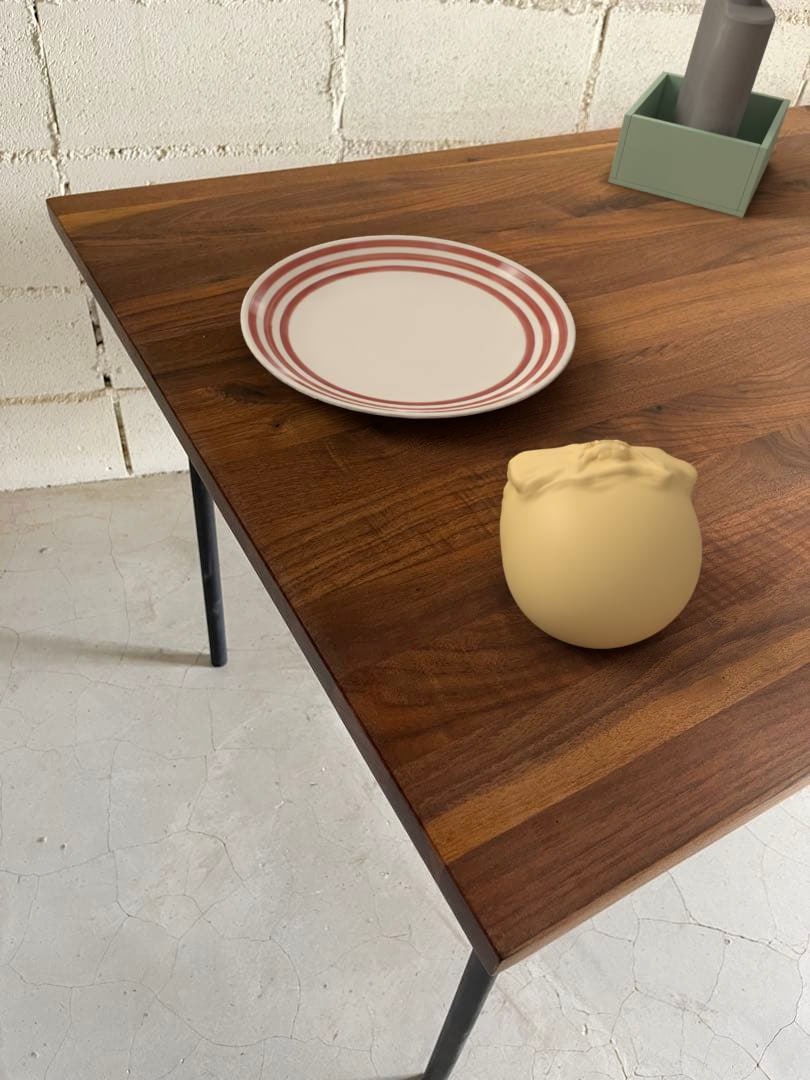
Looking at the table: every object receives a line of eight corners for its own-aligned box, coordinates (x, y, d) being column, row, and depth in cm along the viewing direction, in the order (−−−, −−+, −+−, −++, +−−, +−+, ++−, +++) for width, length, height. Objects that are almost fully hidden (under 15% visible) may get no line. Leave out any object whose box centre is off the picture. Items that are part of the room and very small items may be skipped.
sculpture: (635, 527, 61) (683, 399, 53) (700, 667, 53) (767, 539, 45) (473, 534, 59) (499, 402, 52) (514, 680, 51) (551, 549, 43)
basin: (766, 165, 110) (791, 99, 105) (741, 220, 98) (767, 148, 93) (645, 135, 114) (662, 70, 109) (607, 184, 102) (624, 113, 97)
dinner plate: (312, 481, 61) (313, 443, 59) (201, 289, 78) (198, 254, 76) (632, 405, 71) (643, 370, 69) (472, 248, 88) (477, 216, 86)
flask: (727, 197, 100) (797, -4, 86) (676, 191, 100) (738, -11, 86) (707, 147, 111) (767, -39, 97) (661, 141, 111) (714, -46, 97)
